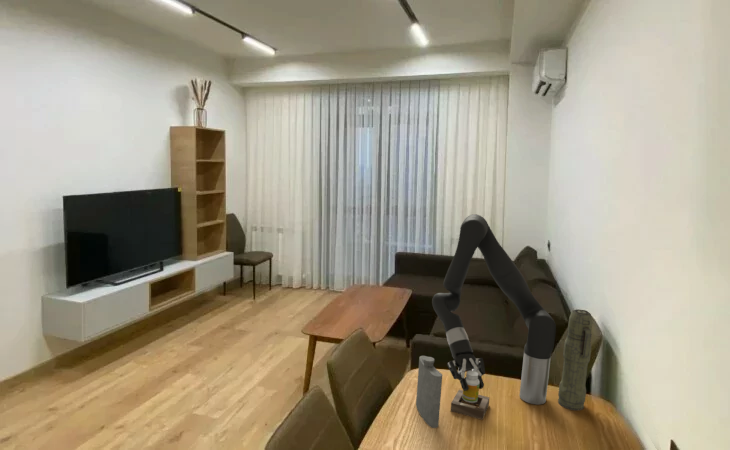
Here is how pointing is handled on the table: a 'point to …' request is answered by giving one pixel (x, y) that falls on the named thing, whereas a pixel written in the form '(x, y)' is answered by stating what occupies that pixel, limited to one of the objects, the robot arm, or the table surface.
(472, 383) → the supplement bottle
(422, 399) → the hip flask
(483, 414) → the socket block
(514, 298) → the robot arm
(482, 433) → the table surface
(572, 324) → the olive fabric bag
